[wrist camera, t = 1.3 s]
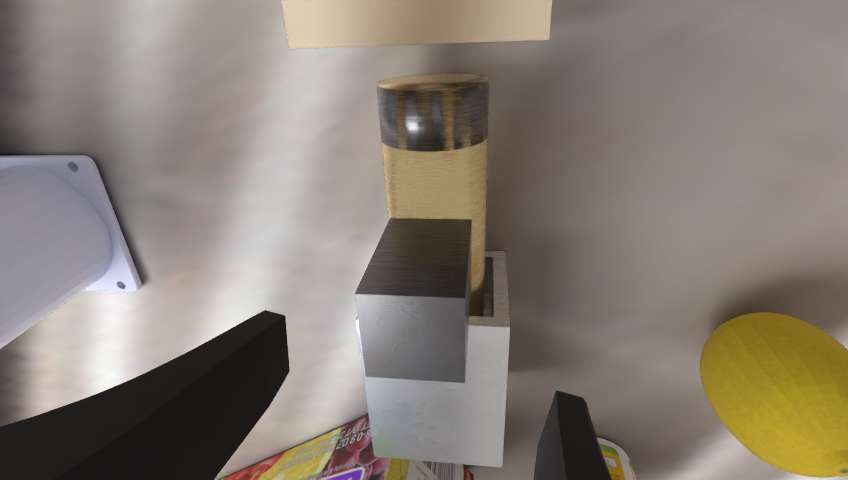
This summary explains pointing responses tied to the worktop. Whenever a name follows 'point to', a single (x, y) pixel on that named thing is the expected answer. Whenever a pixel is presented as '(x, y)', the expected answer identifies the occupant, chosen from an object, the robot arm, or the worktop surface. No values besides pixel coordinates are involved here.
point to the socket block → (413, 22)
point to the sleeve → (451, 394)
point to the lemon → (781, 391)
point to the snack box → (347, 461)
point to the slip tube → (428, 229)
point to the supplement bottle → (616, 461)
